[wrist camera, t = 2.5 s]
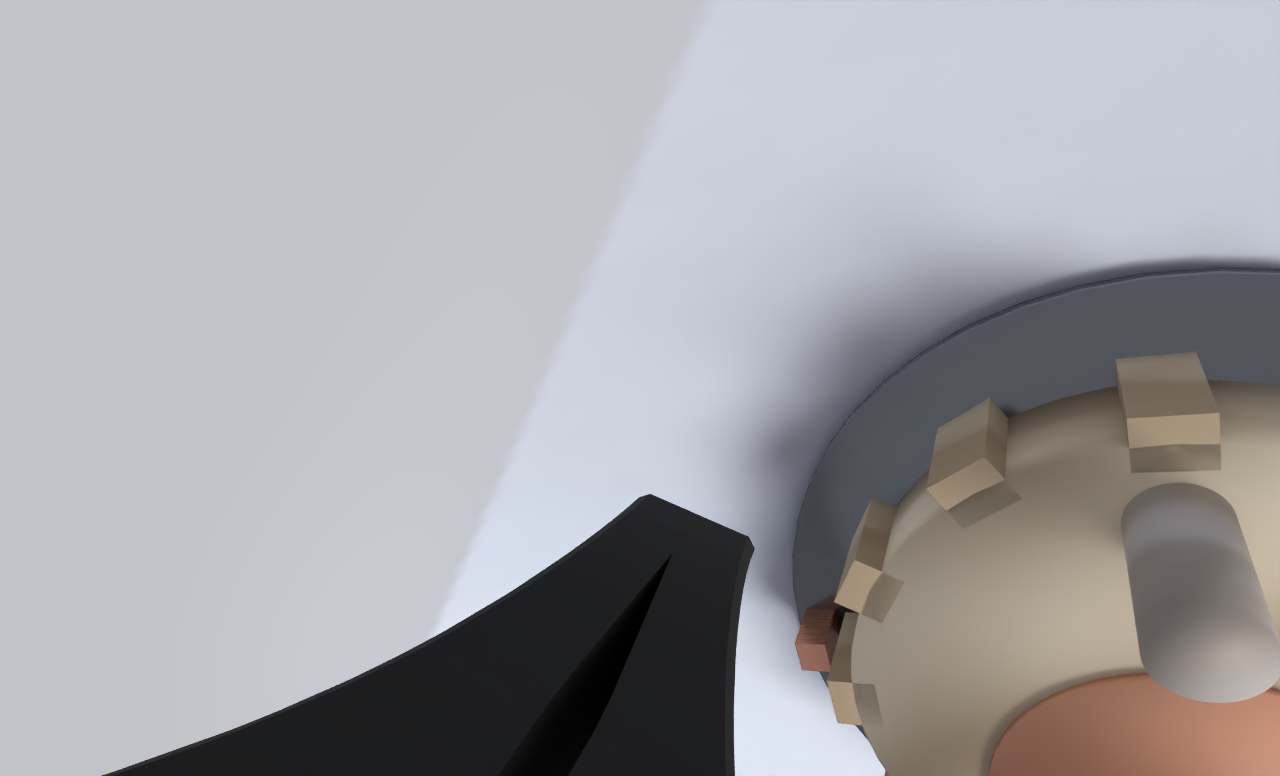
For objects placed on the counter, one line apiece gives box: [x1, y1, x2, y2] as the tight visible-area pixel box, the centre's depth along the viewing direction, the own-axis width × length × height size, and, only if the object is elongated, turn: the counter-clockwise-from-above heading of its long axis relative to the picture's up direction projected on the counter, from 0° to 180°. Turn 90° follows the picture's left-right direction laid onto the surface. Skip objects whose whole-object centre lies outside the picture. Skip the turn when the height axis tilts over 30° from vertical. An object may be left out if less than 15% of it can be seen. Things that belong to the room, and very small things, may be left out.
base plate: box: [793, 268, 1280, 739], centre depth 17 cm, size 16×16×2 cm
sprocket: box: [827, 352, 1280, 776], centre depth 15 cm, size 13×13×5 cm
